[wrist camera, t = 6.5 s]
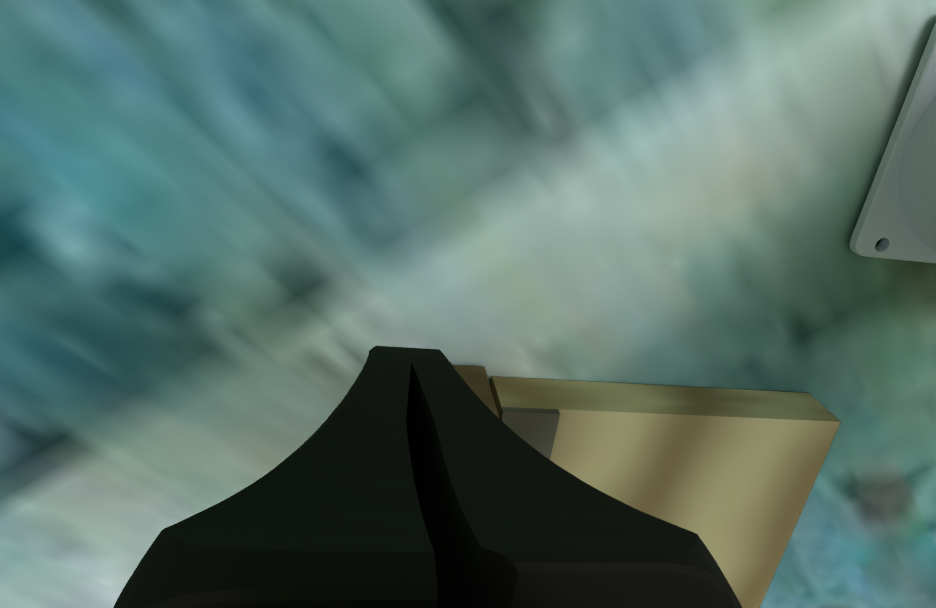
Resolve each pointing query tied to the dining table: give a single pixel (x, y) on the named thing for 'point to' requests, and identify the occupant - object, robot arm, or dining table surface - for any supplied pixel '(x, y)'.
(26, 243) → the dining table surface
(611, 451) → the stool top
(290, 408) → the dining table surface
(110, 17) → the dining table surface
